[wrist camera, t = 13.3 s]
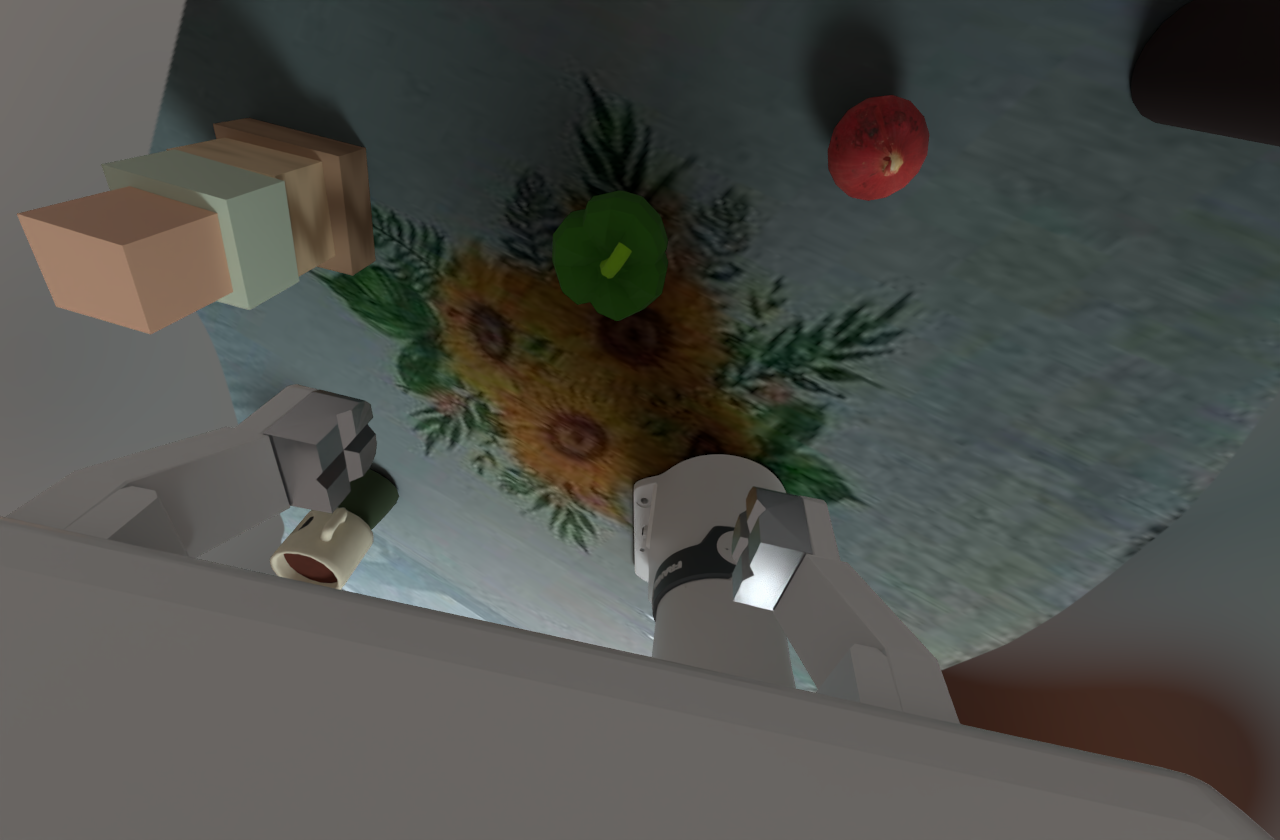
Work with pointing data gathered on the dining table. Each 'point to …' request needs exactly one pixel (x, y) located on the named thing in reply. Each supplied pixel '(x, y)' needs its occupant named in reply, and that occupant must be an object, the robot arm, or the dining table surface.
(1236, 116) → the bottle
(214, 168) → the sage cube
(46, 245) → the terracotta block
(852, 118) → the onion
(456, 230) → the dining table surface
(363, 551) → the character mug
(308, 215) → the oak cube
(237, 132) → the walnut slab
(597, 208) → the bell pepper
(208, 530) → the robot arm
